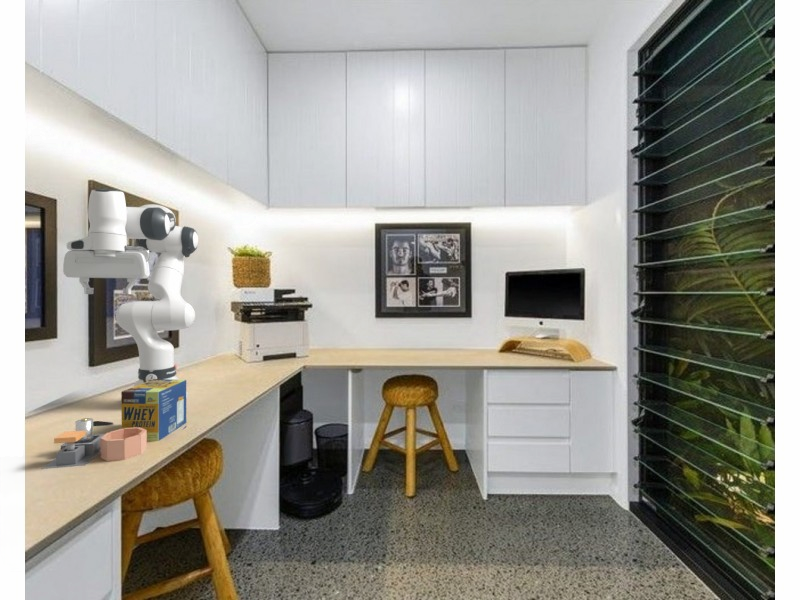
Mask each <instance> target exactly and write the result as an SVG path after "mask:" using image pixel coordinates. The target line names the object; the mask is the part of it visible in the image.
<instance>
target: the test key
mask: <svg viewBox="0 0 800 600" xmlns="http://www.w3.org/2000/svg"><path fill="white" fill-rule="evenodd" d="M85 435H86V430H85V431H76V430H75V431H70V430H69V431H64V432H62V433H61V434H59V435H58V436H56V437H54V438H53V439H54V440H53V444H65V443H66V451H74V450H75V442H76V441H78V440H79V439H81V438H82V437H84V436H85Z"/></svg>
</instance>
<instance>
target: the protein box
mask: <svg viewBox="0 0 800 600" xmlns="http://www.w3.org/2000/svg"><path fill="white" fill-rule="evenodd" d="M186 392H187V379H179V380H176V379H153V380H150V381H148V382H145V383H142V384H140V385H137V386H135V387H134V386H133V387H130V388H128V389H125V390H122V391H121V392H120V393H121V395H120V396H121V398H120V399H121V403H120V404H121V429H122V428H134V427H140V428H143V429H146V430H147V442H159V441H161V440H162V439H164V438H166V437H167V436H168V435H171V433H173V432H175V431H176V430H177V429H179V428H180V427H182V426H183V425H185V424H186V423H187V399H186ZM186 428H187V425H185V426H184V427H183V429H182V430H184V429H186Z"/></svg>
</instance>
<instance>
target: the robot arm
mask: <svg viewBox="0 0 800 600" xmlns="http://www.w3.org/2000/svg"><path fill="white" fill-rule="evenodd" d="M126 203H127V202H126V196H125V193H124V192H123V191H121V190H119V189H113V188H112V189H111V188H101V187H100V188H94V189H92V190H91V191H90V194H89V197H88V207H87V209H88V210H87V219H88V222H89V229H88V231H87V232H88V233H87V237H82V238H79V239H75V240H71V241H68V242H67V243H66V249H67V250H69V251H67V252H66V253H65V254H64V257H63V266H62V267H63V269H62V270H63V271H62V272H63V275H64V276H65V277H66V278H74V279H75V278H77V279H78V281H79V283H80V285H81V286H82V287H83V288H84V289H83V290H84V292H83V293H84V294H85V295H94V289H95V288H94V287H90V285H89V282H90V278H91V279H93V278H94V279H126V282H127V283H128V284H127V286H126V287H123V288H122V295H132V288H133V287H134V286H135V284H136V282H137V279H148V278H149V279H148V285H147V290H148V292H149V294H150V295H151V296H152V297H154V298H155V299H157V300H155V301H154V300H151V301H150V300H149V301H148V300H147V301H146V300H142V301H140V300H139V301H138V300H137V301H131V302H129V301H128V302H125V303H123V304H121V305H120V306H119V307H118V308H117V310H116V313H115V320H116V323H117V324H118V325H117V326H119V327H120V328H121V329H123V330H124V331H126V332H127V333H128V334H129V335H130V336H131V337H132V338H133V340H134V341H135V343H136V346H137V349H138V358H139V368H138V371H137V378H138V381H137V382H135V383H134V385H133V387H135V386H137V385H140V384H142V383H145V382H148V381H150V380H153V379H176V380H180V378H179V377H178V376H177V367H178V365H177V364H175V347H174V345H173V344H172V343H171V342H170V341H168V340H166V339H164V338H162V337H160V336H159V333H158V331H179V330H184V329H189V328H190V327H191V326H192V325H193V324H194V322H195V320H196V311H195V308H194V307H193V306H192V305H191V304H190V303H189V302H187V301H186V300H185V299H184V298H183V296H182V292H181V291H182V285H183V281H184V276H185V275H184V274H185V260H184V258H185V259H186V258H189V257H190V256H191V254H193V253H194V252H195V251H197V248H198V246H199V236H198V233H197V231H196V229H194V228H192V227H189V226H179V225H176V220H177V219H176V216H175V213H174V212H173V210H171V209H170V208H168V207H166V206H163V205H160V204H156V203H152V204H150V203H149V204H144V205H141V206H127V204H126ZM128 239H131V240H132V239H133V240H135V243H136V246H133V245H128ZM150 253H160V255H159V256H158V257H157V259H156V261H155V263H154V265H153V267H152V270H151V273H150V265H149V260H150ZM188 395H189V392H188V391H186V400H187V399H188Z"/></svg>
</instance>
